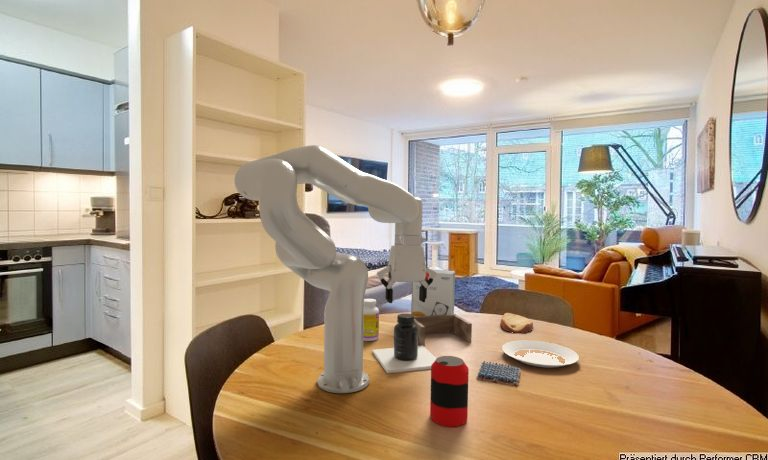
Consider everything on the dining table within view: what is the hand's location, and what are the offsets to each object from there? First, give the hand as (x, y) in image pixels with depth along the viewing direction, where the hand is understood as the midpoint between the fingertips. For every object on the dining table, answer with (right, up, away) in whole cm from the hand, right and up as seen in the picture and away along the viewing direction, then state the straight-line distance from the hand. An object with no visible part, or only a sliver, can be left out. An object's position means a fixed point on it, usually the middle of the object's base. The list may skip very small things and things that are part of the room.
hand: (406, 301), depth 115 cm
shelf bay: (+12, -16, +21) cm, 29 cm away
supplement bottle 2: (0, -16, +1) cm, 16 cm away
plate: (+39, -18, +4) cm, 43 cm away
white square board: (0, -17, +1) cm, 17 cm away
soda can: (+7, -19, -31) cm, 37 cm away
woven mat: (+24, -18, -9) cm, 31 cm away
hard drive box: (+12, -15, +40) cm, 44 cm away
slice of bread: (+42, -16, +38) cm, 59 cm away
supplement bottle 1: (-11, -16, +20) cm, 28 cm away
